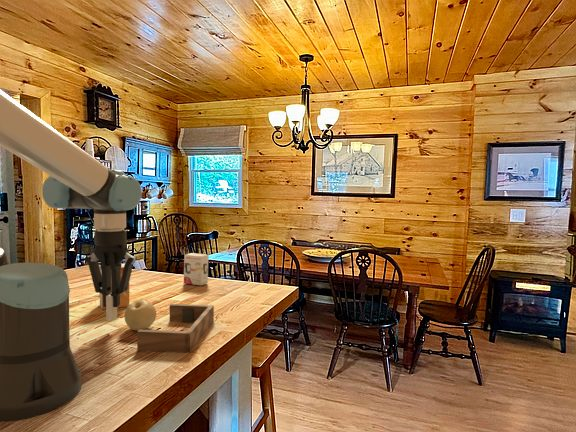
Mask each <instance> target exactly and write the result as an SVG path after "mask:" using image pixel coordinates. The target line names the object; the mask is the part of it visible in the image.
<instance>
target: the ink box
mask: <svg viewBox="0 0 576 432" xmlns="http://www.w3.org/2000/svg"><path fill="white" fill-rule="evenodd" d="M183 257H184V260H183V262H184V263H183V284H189V285H194V286H196V285H197V286H203V285H206V284H208V283H209V281H208V280H209V278H208V277H209V254H206V253H205V254H204V253H198V252H197V253H196V252H190V253H186V254H184V256H183Z"/></svg>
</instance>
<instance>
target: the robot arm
mask: <svg viewBox="0 0 576 432" xmlns="http://www.w3.org/2000/svg"><path fill="white" fill-rule="evenodd" d="M0 147H2V148H3V149H5V150H7V151H8V152H10V153H11V154H13V155H14V156H17V157H18V158H19V159H22V160H24V161H25V162H27V163H28V164H30V165H32V166H33V167H35V168H36V169H37V170H40V171H41V172H43V173H45V174H46V175H48V176H47V177H46V178H45V180H44V182H43V184H42V188H41V191H42V198H43V202H44V203H45V204H46V205H47V206H48V207H49V208H51V209H59V210H60V209H62V210H66V209H81V210H83V209H85V210H93V227H94V229H95V231H94V232H93V234H94V235H93V236H94V238H93V239H94V240H93V241H94V245H95V247H94V250H93V253H91V254H90V255H87V256H85V257H84V260H85V261H84V262H86V264H87V265H88V268H89V272H90V276H91V280H92V284H93V287H94V291H95V293H98V294H100V293H101V294H102V295H103V306H104V307H106V309H105V310H106V312H105V313H106V315H105V316H106V320H105V321H109V322H110V321H114V320H115V319H117V318H118V308H119V307H118V306H119V305H120V294H121V293H123V292H125V291H127V289H128V285H129V286H130V280H131V277H132V276H131V275H132V270H133V266H134V265H135V262H137V259H138V258H137V256H136V255H131V254H130V253H129V250H128V248H127V243H128V242H127V240H128V238H127V231H126V228H127V211H129V210H133V209H135V208H136V207H137V206H138V205H139V204H140V202H141V199H142V193H143V192H142V191H143V190H142V186H141V184H140V182H139V181H138V180H137V179H136V178H135V177H133V176H130V175H126V174H125V172H124V171H123V170H119V169H109V168H108V167H107V166H106V165H104V164H103V163H102V162H100V161H98V159H96V158H94V157H93V156H92V155H91V154H89V153H87V152H86V151H85V150H84V149H82V148H81V147H80V146H78V145H77V144H75V143H74V142H73V141H71V140H70V139H69V138H68V137H66V136H65V135H63V134H62V133H60V131H59V132H58V131H57V130H56V129H55V128H54V127H52V126H51V125H50V124H48V123H47V122H45V121H44V120H43V119H41V118H40V117H38V115H36V114H34V113H33V112H32V111H31V110H29V109H28V108H26V107H25V106H24V105H23V104H20V103H19V101H16V100H15V99H14V98H13V97H11V96H10V95H9V94H7V93H6V92H4V91H3V90H1V89H0ZM123 262H124V263H125V265H124V269H123V273H122V278H121V264H122V263H123ZM99 263H100V264H99ZM99 266H101V270H102V275H101V272H100V268H99ZM111 278H112V290H111ZM69 284H70V283H69V277H68V273H67V271H66V270H64V269H63V268H62V267H60V266H57V265H54V264H50V263H45V262H39V263H37V262H33V261H32V262H15V263H11V261H10V260H9V257H8V255H7V254H6V252H5V250H4V249H3V248H2V247H0V422H13V421H20V420H21V421H22V420H26V419H30V418H33V417H37V416H40V415H43V414H46V413H48V412H49V413H50V412H51V411H53V410H56V409H58V408H60V407H61V406H64V405H65V404H67V403H68V402H70V401H71V400H73V398H75V397H76V396H77V395H78V394H79V392H80V391H81V389H82V373H81V370H80V368H79V367H78V365H77V361H76V358H75V356H74V353H73V352H72V349H71V343H70V342H71V341H70V339H71V338H70V337H71V336H70V330H71V329H70V294H71V293H70V292H71V290H70V285H69ZM111 292H112V293H111ZM110 293H111V294H110ZM117 307H118V308H117Z"/></svg>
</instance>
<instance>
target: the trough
mask: <svg viewBox="0 0 576 432" xmlns="http://www.w3.org/2000/svg"><path fill="white" fill-rule="evenodd" d="M214 309H215V307H214V305H212V304H209V305H208V304H185V303H184V304H182V303H170V304H169V322H170V321H171V322H172V321H174V322H182V323H193V324H191V326H190V327H189V328H188V329H187V330H165V329H164V330H160V329H144V330H138V331H136V336H137V338H136V339H137V340H136V342H137V347H136V348H137V351H144V352H145V351H147V352H166V353H167V352H170V353H172V352H173V353H191V352H192V350H193V349H194V347H196V345H197V344H198V342H199V341H200V340H201V339H202V337H203V336H204V335H205V333H206V332H207V330H208V329H209V327H210V326H211V325H212V324H213V322H214V319H215V317H214V315H215V314H214V313H215V312H214V311H215V310H214Z"/></svg>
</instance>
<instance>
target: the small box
mask: <svg viewBox="0 0 576 432" xmlns="http://www.w3.org/2000/svg"><path fill="white" fill-rule="evenodd" d="M125 263H126V262H124V263H121V278H122V273H123V269H124V265H125ZM99 268H100V272H101V275H102V270H101V266H100V265H99ZM111 290H112V278H111ZM111 293H112V292H111ZM111 293H110V294H111ZM129 305H130V284H129V285H128V289H127V291H125V292H123V293H121V294H120V305H119V306H118V307H117V309H118V308H123V307H124V308H125V307H126V308H127V307H128V306H129ZM99 306H100V308H101V310H106V307H104V306H103V295H102V294H101V293H99Z"/></svg>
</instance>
